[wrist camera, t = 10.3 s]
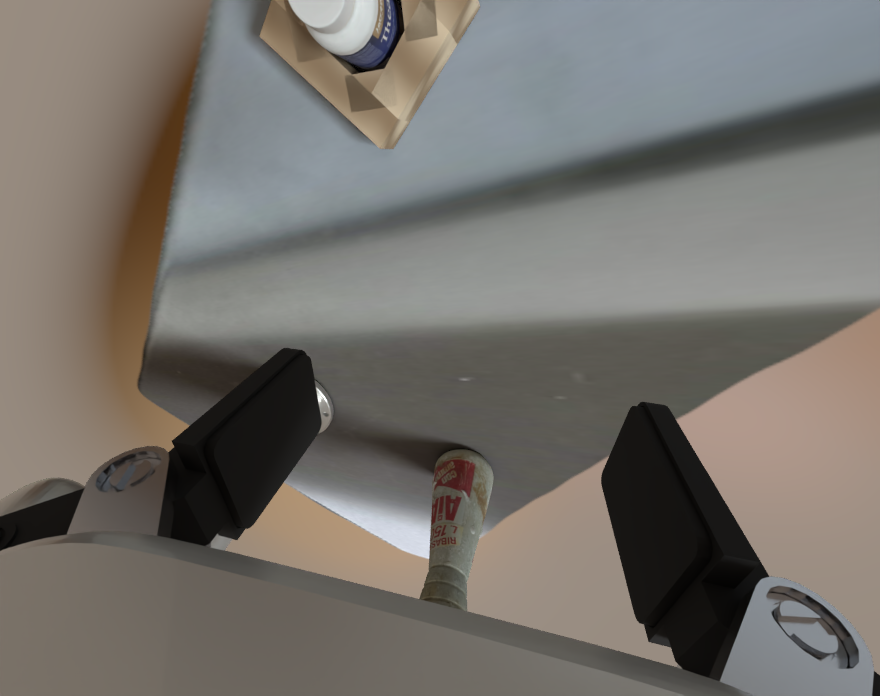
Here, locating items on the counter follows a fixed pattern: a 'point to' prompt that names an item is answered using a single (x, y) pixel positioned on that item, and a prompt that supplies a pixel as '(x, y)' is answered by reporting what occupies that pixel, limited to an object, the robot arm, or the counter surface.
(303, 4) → the pill bottle
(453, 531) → the bottle
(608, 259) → the counter surface
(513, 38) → the counter surface
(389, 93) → the collar
